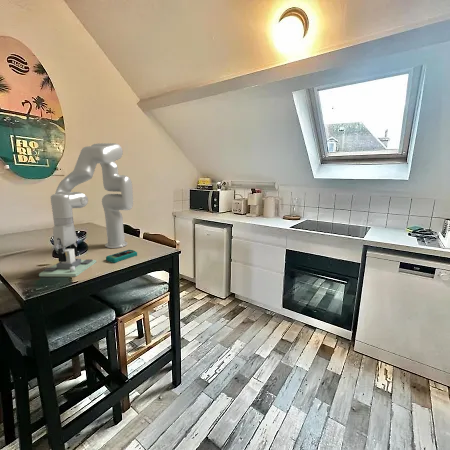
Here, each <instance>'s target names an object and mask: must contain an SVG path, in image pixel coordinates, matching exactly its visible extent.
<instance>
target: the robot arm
mask: <svg viewBox="0 0 450 450" xmlns="http://www.w3.org/2000/svg"><path fill="white" fill-rule="evenodd" d="M123 153H124V150H123V147H122V146H121V145H120V144H119V143H111V142H110V143H109V142H108V143H103V142H102V143H100V142H99V143H98V142H97V143H94V144H92V145H89V146H88V145H87V146H84V147H82V149H81V150H80V152H79V155H78V157H77V160H76V163H75V166H74V167H73V170H72V171H71V172H70V173H68V174H67V175H66V176H65V177H64V178H63V179H62V180H61V181H60V182H59V184H58V185H57V187H56V191H55V193H54V194H51V195H50V205H51V211H52V219H53V225H54V226H53V228H52V229H53V231H52V233H53V235H52V236H53V246H52V247H53V249H54V251H55V252H56V254H57V258H58V263H59V262H66V261H67V260H66V253H64V252H65V249H67V247H69V248H68V249H74V252H75V256H78V239H79V236H78V235H77V234H76V227H75V225H74V216H73V215H74V214H73V209H82V208H85V207H86V206H87V205H88V204H89V203H88V202H89V197H88V196H87V195H86V194H85V193H84V192H80V191H73V189H75V187H77V186H79V185H81V184H84V183H86V182H87V181H90V180H91V179H92V178H93V177H94V173H95V171H96V168H97V165H98V164H99V166H100V167H101V174H102V183H103V189H104V190H106V191H107V192H116V193H107V194H105V195H103V197H102V199H101V205H102V208H103V211H104V216H105V217H104V218H105V227H106V228H105V229H106V237H107V238H106V239H107V240H106V241H107V242H106V243H105V244H104V246H105V248H108V249H119V248H122V247H123V248H124V247H126V246H127V245H128V242H127V241H125V239H126V236H125V232H124V217H123V215H122V213H121V211H130V210H131V209H132V208H133V206H134V194H133V192H134V191H133V183H132V182H133V181H132V180H131V178H130V177H129V176H127V175H124V174H122V175H121V174H119V169H118V168H119V167H118V165H117V162H116V161H118V160H120V159H121V158H122V157H123V155H124V154H123ZM117 192H120V193H117Z"/></svg>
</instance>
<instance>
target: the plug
mask: <svg viewBox="0 0 450 450" xmlns="http://www.w3.org/2000/svg"><path fill="white" fill-rule="evenodd" d="M64 253H66V260H67V261H66V262H62V263H73V262H75V261H76V260H75V259H76V255H75V252H74V249H69V248H65V252H64Z"/></svg>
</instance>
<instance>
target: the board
mask: <svg viewBox="0 0 450 450" xmlns="http://www.w3.org/2000/svg"><path fill="white" fill-rule="evenodd" d="M75 260H76V261H75V262H73V263H62V262H59V261H58V262H57V263H56V264H54V265H52V266H50V267H47V268H45V269H43V271H41V272H39V273H38V277H54V278H55V277H57V278H58V277H66V278H67V277H69V278H70V277H71V278H72V277H78V276H79V275H80V274H82V273H83V272H85V271H86V270H88V268H90V267H92V266H93V265H95V264H96V263H97V259H93V258H92V259H89V258H88V259H82V258H75Z"/></svg>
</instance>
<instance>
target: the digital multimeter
mask: <svg viewBox="0 0 450 450" xmlns="http://www.w3.org/2000/svg"><path fill="white" fill-rule="evenodd" d="M137 256H138V252H137V251H135V250H133V249H126V250H123V251H120V252H116V253H112V254H110V255H107V256H106V257H105V260H106V261H107V262H108V263H113V264H116V263H119V262H121V261H125V260H127V259H131V258H134V257H137Z"/></svg>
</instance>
